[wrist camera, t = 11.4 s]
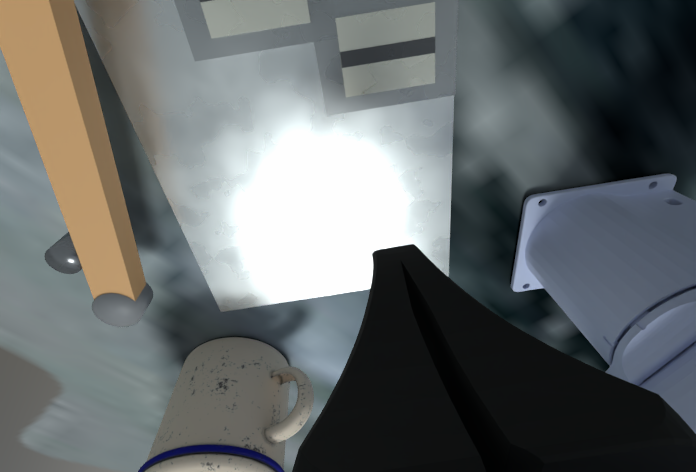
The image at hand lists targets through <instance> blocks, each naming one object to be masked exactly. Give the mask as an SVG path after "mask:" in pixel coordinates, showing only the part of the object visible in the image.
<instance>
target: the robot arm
mask: <svg viewBox="0 0 696 472" xmlns="http://www.w3.org/2000/svg"><path fill="white" fill-rule="evenodd" d="M676 180H677V178H676V176H675V175H673V174H670V173H666V174H659V175H653V176H647V177H641V178H634V179H628V180H622V181H615V182H609V183H603V184H597V185H590V186H584V187H578V188H571V189H565V190H559V191H552V192H546V193H540V194H534V195H530V196H529V197H527V198H526V199H525V201H524V206H523V212H522V218H521V224H520V231H519V237H518V243H517V249H516V256H515V262H514V268H513V274H512V280H511V288H512V289H513V291H515V292H521V291H527V290H533V289H540V288H545V289H546V291H547V292H548V293H549V294H550V295H551V297H552V298H553V299H554V300H555V301H556V303H557V304H558V305H559V306H560V307H561V309H562V310H563V311H564V312H565V313H566V314H567V316H568V317H569V318H570V319H571V320H572V322H573V323H574V324H575V325H576V326H577V328H578V329H579V330H580V331H581V332H582V333H583V335H584V336H585V337H586V338H587V339H588V341H589V342H590V343H591V344H592V345H593V347H594V348H595V349H596V350H597V351H598V352H599V354H600V355H601V356H602V357H603V358H604V360H605V361H606V362H607V363H608V364H609V366H610V367H609V369H608V370H607V371H606V372H603V371H601V370H598V369H596V368H594V367H592V366H590V365H588V364H585V363H583V362H581V361H579V360H577V359H575V358H573V357H571V356H568V355H566V354H564V353H562V352H560V351H558V350H557V349H555V348H553V347H551V346H549V345H547V344H545V343H543V342H542V341H540V340H538V339H536V338H534V337H532V336H531V335H529V334H527V333H525V332H523V331H522V330H520V329H518V328H517V327H515V326H513V325H512V324H510V323H508V322H507V321H505V320H504V319H502V318H501V317H499V316H498V315H496V314H495V313H493V312H492V311H490V310H489V309H488V308H486V307H485V306H483V305H482V304H481V303H479V302H478V301H477V300H475V299H474V298H473V297H472V296H470V295H469V294H468V293H466V292H465V291H464V290H463V289H462V288H460V287H459V286H458V285H457V284H456V283H454V282H453V281H452V280H451V279H450V278H449V277H448V276H446V275H445V274H444V273H443V272H442V271H441V270H440V269H439V268H438V267H437V266H436V265H435V264H434V263H432V262H431V261H430V260H429V259H428V258H427V257H426V256H425V255H424V253H423V252H422V251H421V250H420V249H419V248H418V247H417V246H415V245H414V244H410V245H404V246H398V247H391V248H385V249H379V250H375V251H374V252H373V253H372V259H373V275H372V283H371V288H370V294H369V299H368V303H367V307H366V311H365V314H364V318H363V321H362V325H361V328H360V331H359V334H358V336H357V339H356V342H355V344H354V347H353V349H352V352H351V354H350V357H349V359H348V361H347V364H346V366H345V368H344V370H343V372H342V374H341V377H340V379H339V380H338V382H337V384H336V386H335V388H334V390H333V392H332V394H331V396H330V398H329V399H328V401H327V403H326V405H325V407H324V409H323V410H322V412H321V414H320V415H319V417H318V419H317V420H316V422H315V424H314V425H313V427H312V428H311V430H310V432H309V433H308V435H307V436H306V438H305V440H304V441H303V443H302V444H301V446H300V448H299V450H298V454H297V457H296V460H295V464H294V467H293V471H292V472H696V201H694V200H692V199H690V198H688V197H686V196H684V195H682V194H680V193H678V192H676V191H674V190H673V188H674V186H675V183H676ZM542 199H543V201H542V202H541V203H539V201H540V200H542ZM538 203H539V204H538Z"/></svg>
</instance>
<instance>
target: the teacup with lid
mask: <svg viewBox="0 0 696 472" xmlns="http://www.w3.org/2000/svg"><path fill="white" fill-rule="evenodd" d="M290 381H296V382H297V386H298V398H297V402H296V405H295V407H294V409H293V410H292V412H291V413H290V414H289V415H288V417H287V413H288V399H289V385H290ZM313 400H314V394H313V387H312V384H311V382H310V380H309V378H308V377H307V375H306V374H305V373H303V372H302V371H301V370H300V369H298V368H296V367H289V365H288V363H287V361H286V359H285V358H284V356H283V355H282V354H281V353H280V352H279V351H277V350H276V349H275V348H273V347H272V346H270V345H268V344H266V343H263V342H261V341H258V340H254V339H249V338H242V337H226V338H219V339H215V340H212V341H209V342H206V343H204V344H202V345H200V346H198V347H197V348H196V349H194V350H193V351H192V352H191V353H190V354H189V355H188V357H187V358H186V360H185V362H184V364H183V367H182V370H181V372H180V375H179V378H178V380H177V383H176V385H175V388H174V391H173V393H172V396H171V399H170V401H169V404H168V406H167V409H166V412H165V414H164V417H163V420H162V422H161V425H160V427H159V430H158V433H157V435H156V438H155V440H154V443H153V446H152V448H151V451H150V454H149V456H148V459H147V461H146V463H145V464H144V465H143V466H142V467H141V468H140V469H139V471H138V472H284V470H283V469H284V455H285V441H286V439H288V438H290V437H291V436H293V435H294V434H295V433H297V432H298V431H299V430H300V429H301V428H302V427H303V425H304V424H305V423H306V421H307V419H308V418H309V416H310V413H311V411H312V407H313Z"/></svg>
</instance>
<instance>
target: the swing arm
mask: <svg viewBox="0 0 696 472" xmlns="http://www.w3.org/2000/svg"><path fill="white" fill-rule="evenodd" d="M0 47H1V50H2V52H3V55H4V58H5V60H6V63H7V66H8V69H9V71H10V74H11V77H12V79H13V82H14V85H15V87H16V90H17V93H18V96H19V98H20V101H21V104H22V106H23V109H24V112H25V114H26V117H27V120H28V123H29V125H30V128H31V131H32V133H33V136H34V139H35V141H36V144H37V147H38V150H39V152H40V155H41V158H42V160H43V163H44V166H45V168H46V171H47V174H48V177H49V179H50V182H51V185H52V187H53V190H54V193H55V195H56V198H57V201H58V203H59V206H60V209H61V212H62V214H63V217H64V220H65V222H66V225H67V228H68V230H69V233H70V236H71V239H72V241H73V244H74V247H75V249H76V252H77V255H78V257H79V260H80V263H81V266H82V268H83V271H84V274H85V276H86V279H87V282H88V284H89V287H90V290H91V293H92V295H93V298H94V302H93V304H92V310H93V312H94V314H95V315H96V317H97V318H99V319H100V320H101V321H103V322H104V323H106V324H109V325H112V326H116V327H129V326H133V325H135V324H137V323H138V322H139V321H140V319H141V317H142V316H143V314H144V312H145V311H146V309H147V307H148V305H149V304H150V302H151V300H152V298H153V291H152V289H151V287H150V286H149V285H148V284H147V283H146V281H145V277H144V274H143V270H142V266H141V262H140V258H139V254H138V250H137V246H136V242H135V238H134V234H133V230H132V227H131V223H130V219H129V215H128V211H127V207H126V203H125V199H124V195H123V191H122V187H121V183H120V179H119V176H118V172H117V168H116V164H115V160H114V156H113V152H112V148H111V144H110V140H109V136H108V132H107V128H106V125H105V121H104V117H103V113H102V109H101V105H100V101H99V97H98V93H97V89H96V85H95V81H94V78H93V74H92V70H91V66H90V62H89V58H88V54H87V50H86V46H85V42H84V38H83V34H82V30H81V27H80V23H79V19H78V15H77V11H76V7H75V3H74V0H0Z"/></svg>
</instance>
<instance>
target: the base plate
mask: <svg viewBox="0 0 696 472" xmlns="http://www.w3.org/2000/svg"><path fill="white" fill-rule="evenodd" d="M74 3H75V5H76V7H77V9H78V12H79V14H80V16H81V18H82V20H83V22H84V24H85V26H86V28H87V30H88V33H89V35H90V37H91V39H92V41H93V43H94V45H95V47H96V49H97V52H98V54H99V56H100V58H101V60H102V62H103V64H104V66H105V68H106V71H107V73H108V75H109V77H110V79H111V81H112V83H113V85H114V87H115V89H116V92H117V94H118V96H119V98H120V100H121V102H122V104H123V106H124V108H125V111H126V113H127V115H128V117H129V119H130V121H131V123H132V125H133V127H134V130H135V132H136V134H137V136H138V138H139V140H140V142H141V144H142V146H143V148H144V151H145V153H146V155H147V157H148V159H149V161H150V163H151V165H152V167H153V170H154V172H155V174H156V176H157V178H158V180H159V182H160V184H161V186H162V189H163V191H164V193H165V195H166V197H167V199H168V201H169V203H170V205H171V207H172V210H173V212H174V214H175V216H176V218H177V220H178V222H179V224H180V226H181V229H182V231H183V233H184V235H185V237H186V239H187V241H188V243H189V245H190V248H191V250H192V252H193V254H194V256H195V258H196V260H197V262H198V264H199V266H200V269H201V271H202V273H203V275H204V277H205V279H206V281H207V283H208V285H209V288H210V290H211V292H212V294H213V296H214V298H215V300H216V302H217V304H218V307H219V309H220V311H221V312H225V311H232V310H238V309H245V308H251V307H257V306H264V305H270V304H276V303H283V302H289V301H295V300H302V299H308V298H315V297H321V296H327V295H334V294H340V293H346V292H353V291H359V290H365V289H370V288H371V283H372V275H373V259H372V253H373V252H374V251H375V250H379V249H385V248H391V247H398V246H404V245H410V244H414V245H415V246H417V247H418V248H419V249H420V250H421V251H422V252H423V253H424V255H425V256H426V257H427V258H428V259H429V260H430V261H431V262H432V263H434V264H435V265H436V266H437V267H438V268H439V269H440V270H441V271H442V272H443V273H444V274H445V275H446V276H449V248H450V215H451V181H452V148H453V115H454V95H455V90H456V58H457V27H458V0H74ZM45 260H46V262H47V263H48V264H49V266H51V267H52V268H53V269H55V270H57V271H59V272H62V273H66V274H73V273H77V272H79V271H80V270H81V269H82V266H81V263H80V260H79V257H78V255H77V252H76V249H75V247H74V244H73V241H72V239H71V236H70V233H69V232H68V233H67V234H65V235H64V236H63V237H62V238H61V239H60V240H59V241H57V242H56V243H55V244H54V245H53V246H52V247H51V248H49V249H48V250H47V251H46V253H45Z"/></svg>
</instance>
